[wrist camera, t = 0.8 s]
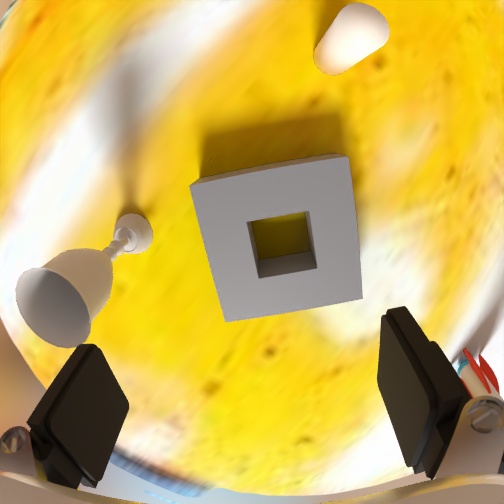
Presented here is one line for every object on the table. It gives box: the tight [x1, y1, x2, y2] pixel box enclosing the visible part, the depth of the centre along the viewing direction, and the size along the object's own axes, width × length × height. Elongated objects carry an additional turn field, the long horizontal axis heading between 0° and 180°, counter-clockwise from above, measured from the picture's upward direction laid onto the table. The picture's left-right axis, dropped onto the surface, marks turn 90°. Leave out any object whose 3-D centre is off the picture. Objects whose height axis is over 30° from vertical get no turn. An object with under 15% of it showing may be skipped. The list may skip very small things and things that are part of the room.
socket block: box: [190, 153, 363, 322], centre depth 34 cm, size 15×15×5 cm
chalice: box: [16, 213, 153, 348], centre depth 28 cm, size 7×7×18 cm
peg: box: [313, 3, 389, 75], centre depth 23 cm, size 4×4×12 cm
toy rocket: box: [458, 348, 504, 402], centre depth 29 cm, size 6×6×30 cm
